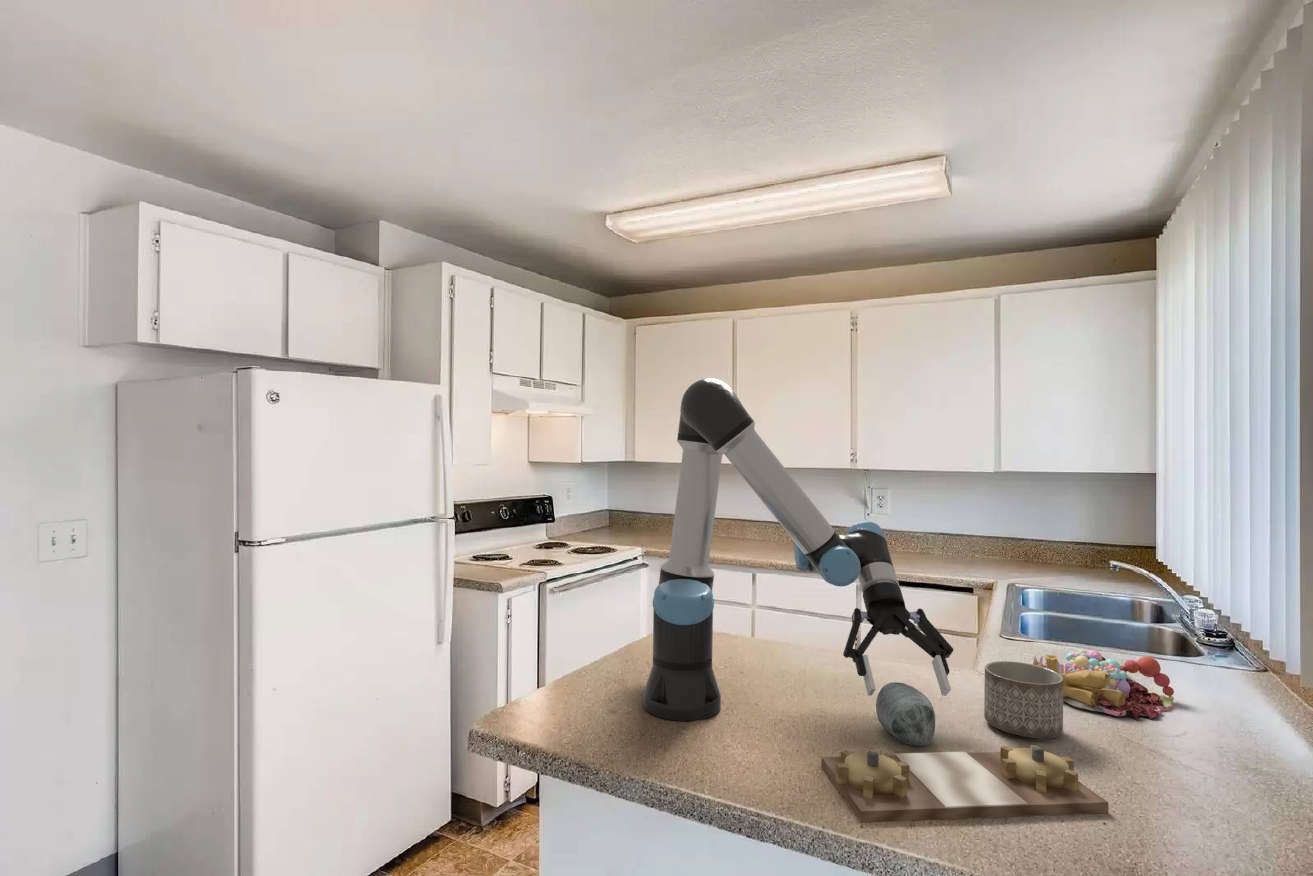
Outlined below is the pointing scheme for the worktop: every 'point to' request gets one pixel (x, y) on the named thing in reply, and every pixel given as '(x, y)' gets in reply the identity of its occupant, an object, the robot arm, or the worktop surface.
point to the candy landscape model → (1111, 684)
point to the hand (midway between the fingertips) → (909, 692)
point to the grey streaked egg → (906, 713)
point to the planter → (1023, 699)
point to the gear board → (960, 785)
